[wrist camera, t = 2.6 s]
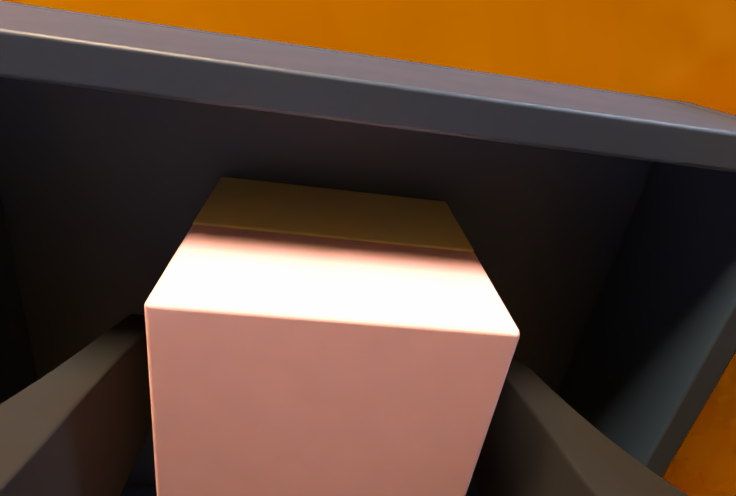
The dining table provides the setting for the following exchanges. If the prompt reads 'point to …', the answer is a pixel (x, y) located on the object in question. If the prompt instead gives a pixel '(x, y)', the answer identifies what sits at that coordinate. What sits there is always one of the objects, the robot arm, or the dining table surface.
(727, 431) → the dining table surface
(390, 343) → the pink rectangular block
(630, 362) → the storage box
